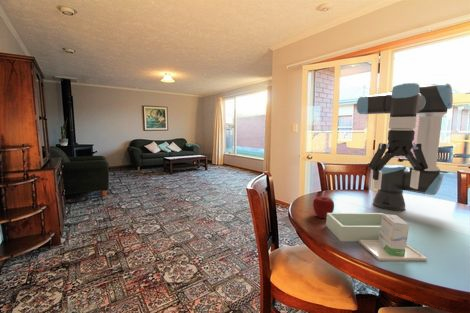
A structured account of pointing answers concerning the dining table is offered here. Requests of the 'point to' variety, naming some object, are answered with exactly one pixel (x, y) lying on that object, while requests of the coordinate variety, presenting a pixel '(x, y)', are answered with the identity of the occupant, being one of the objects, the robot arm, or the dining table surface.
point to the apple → (323, 206)
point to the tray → (384, 256)
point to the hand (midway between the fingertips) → (395, 188)
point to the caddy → (355, 225)
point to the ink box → (393, 234)
